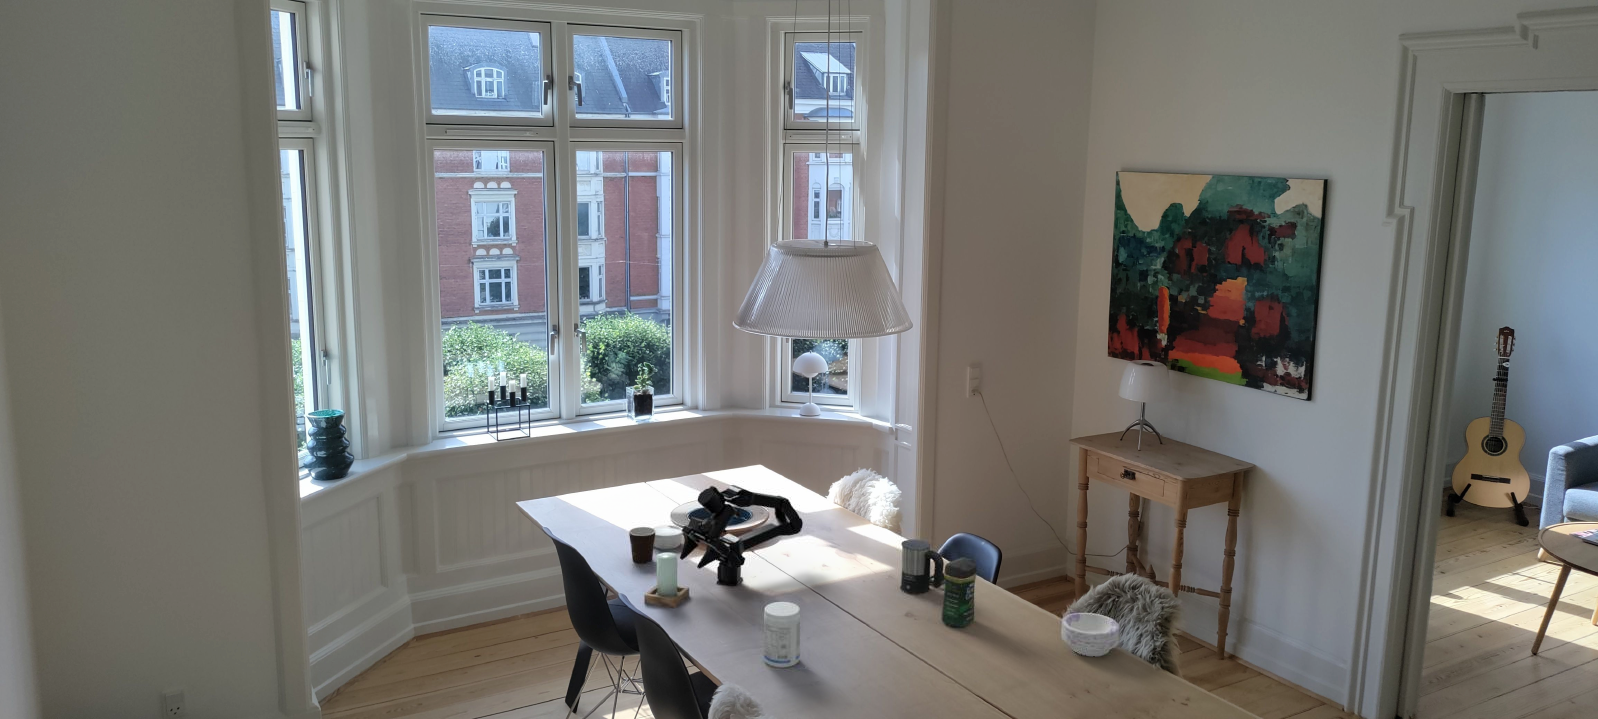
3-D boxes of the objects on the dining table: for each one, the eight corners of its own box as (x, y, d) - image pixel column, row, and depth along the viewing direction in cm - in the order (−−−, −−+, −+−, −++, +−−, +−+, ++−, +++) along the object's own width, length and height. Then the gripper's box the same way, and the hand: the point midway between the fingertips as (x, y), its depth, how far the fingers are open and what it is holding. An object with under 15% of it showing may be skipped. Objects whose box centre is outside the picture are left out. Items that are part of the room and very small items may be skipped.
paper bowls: (1064, 634, 306) (1066, 607, 304) (1120, 643, 300) (1122, 616, 299) (1056, 655, 292) (1058, 628, 290) (1114, 666, 286) (1116, 638, 285)
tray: (689, 595, 328) (689, 587, 327) (674, 607, 318) (674, 599, 318) (659, 590, 331) (659, 582, 330) (644, 603, 322) (644, 594, 321)
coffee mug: (650, 566, 351) (650, 536, 350) (625, 563, 353) (625, 534, 351) (662, 553, 362) (662, 525, 361) (637, 551, 364) (637, 523, 362)
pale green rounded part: (677, 590, 327) (678, 552, 325) (676, 598, 322) (676, 559, 319) (658, 590, 327) (657, 552, 325) (656, 598, 321) (656, 559, 319)
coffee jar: (960, 631, 306) (963, 568, 303) (937, 623, 311) (939, 561, 308) (978, 620, 314) (981, 559, 310) (955, 613, 319) (958, 553, 315)
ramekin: (689, 543, 373) (689, 528, 372) (669, 552, 364) (669, 537, 363) (664, 537, 379) (664, 522, 378) (643, 546, 370) (643, 531, 369)
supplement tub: (781, 649, 292) (782, 598, 290) (807, 660, 286) (808, 608, 284) (755, 660, 285) (756, 608, 283) (781, 672, 279) (782, 618, 277)
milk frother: (896, 592, 333) (898, 546, 331) (907, 574, 348) (909, 530, 346) (942, 599, 329) (944, 552, 326) (951, 580, 344) (953, 536, 341)
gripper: (686, 499, 336) (656, 541, 331) (722, 515, 322) (691, 558, 317) (707, 518, 342) (678, 559, 337) (743, 535, 328) (713, 578, 323)
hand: (689, 563), depth 328 cm, fingers open, 9 cm apart
